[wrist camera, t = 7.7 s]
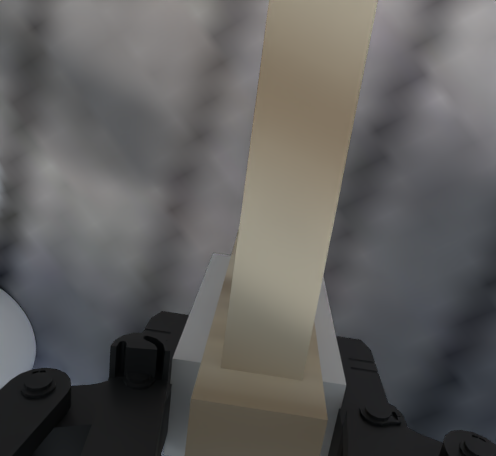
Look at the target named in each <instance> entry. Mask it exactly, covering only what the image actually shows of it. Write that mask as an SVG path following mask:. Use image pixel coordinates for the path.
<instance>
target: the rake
mask: <svg viewBox="0 0 496 456" xmlns="http://www.w3.org/2000/svg"><path fill="white" fill-rule="evenodd" d="M377 2H378V0H269V5H268V12H267V20H266V28H265V35H264V43H263V50H262V58H261V66H260V73H259V81H258V88H257V96H256V103H255V111H254V119H253V126H252V134H251V141H250V149H249V157H248V164H247V172H246V179H245V187H244V195H243V202H242V210H241V217H240V225H239V229H238V233H237V236H236V240H235V243H234V247H233V251H232V254H231V258H230V261H229V265H228V268H227V272H226V275H225V279H224V283H223V286H222V290H221V293H220V297H219V300H218V304H217V307H216V311H215V315H214V318H213V322H212V325H211V329H210V332H209V336H208V339H207V343H206V347H205V350H204V354H203V357H202V361H201V364H200V368H199V371H198V375H197V379H196V382H195V386H194V389H193V393H192V396H191V402H190V411H189V420H188V429H187V438H186V447H185V456H320V453H321V448H322V444H323V439H324V435H325V431H326V426H327V422H328V417H327V410H326V402H325V395H324V388H323V381H322V374H321V366H320V359H319V352H318V345H317V337H316V330H315V323H314V320H315V315H316V309H317V304H318V299H319V294H320V289H321V284H322V279H323V274H324V269H325V264H326V259H327V254H328V249H329V244H330V239H331V234H332V229H333V224H334V219H335V214H336V209H337V204H338V199H339V194H340V189H341V184H342V179H343V174H344V169H345V164H346V158H347V153H348V148H349V143H350V138H351V133H352V128H353V123H354V118H355V113H356V108H357V103H358V98H359V93H360V88H361V83H362V78H363V73H364V68H365V63H366V58H367V53H368V48H369V43H370V38H371V33H372V28H373V23H374V18H375V13H376V7H377Z"/></svg>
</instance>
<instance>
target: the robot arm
mask: <svg viewBox="0 0 496 456" xmlns="http://www.w3.org/2000/svg"><path fill="white" fill-rule="evenodd" d="M230 258H231V255H225V254H218V253H213V255H212V257H211V260H210V262H209V265H208V268H207V270H206V273H205V275H204V278H203V281H202V283H201V286H200V288H199V291H198V294H197V296H196V299H195V301H194V304H193V307H192V309H191V312H190V314H189V315H185V314H178V313H171V312H165V311H161V312H160V313H158V314H157V315H155V316H154V317H152V318H151V319H150V321H149V323H148V324H147V326H146V328H145V330H144V332H143V333H131V334H127V335H123V336H121V337H120V338H118V339H116V340H115V341H114V342H113V344H112V345H111V348H110V371H109V379H108V381H105V382H102V383H98V384H92V385H80V386H71V380H70V378H69V377H68V375H67V374H66V373H64V372H62V371H60V370H57V369H51V368H40V369H32V370H29V371H26V372H23V373H20V374H19V375H17V376H16V377H14V378H13V379H11V380H10V381H9V382H8V383H7V384H6V385H4V386H3V387H2V388H1V389H0V456H161V452H162V449H163V446H164V455H168V456H185V447H186V438H187V429H188V420H189V411H190V402H191V396H192V393H193V389H194V386H195V382H196V379H197V375H198V371H199V368H200V364H201V361H202V357H203V354H204V350H205V347H206V343H207V339H208V336H209V332H210V329H211V325H212V322H213V318H214V315H215V311H216V307H217V304H218V300H219V297H220V293H221V290H222V286H223V283H224V279H225V275H226V272H227V268H228V265H229V261H230ZM314 323H315V330H316V337H317V345H318V352H319V359H320V366H321V374H322V381H323V388H324V395H325V402H326V410H327V417H328V422H327V426H326V431H325V435H324V439H323V444H322V448H321V453H320V456H496V445H495V444H494V443H492V442H491V441H489V440H488V439H487V438H485V437H482V436H480V435H478V434H475V433H473V432H468V431H463V430H457V431H451V432H449V433H448V434H446V435H445V438H444V441H443V443H442V442H439V441H436V440H434V439H431V438H429V437H426V436H423V435H421V434H419V433H417V432H414V431H412V430H411V429H409V428H408V427H407V424H406V421H405V419H404V417H403V415H402V414H401V413H400V412H399V411H398V410H397V409H396V408H395V407H394V406H392V405H391V404H389V403H388V401H387V398H386V395H385V392H384V389H383V386H382V383H381V380H380V377H379V374H378V373H377V372H378V371H377V368H376V365H375V364H374V359H373V356H372V353H371V350H370V349H369V348H368V347H367V346H366V345H365V344H364V343H363V342H362V341H361V340H359V339H352V338H345V337H339V336H336V334H335V329H334V324H333V320H332V315H331V310H330V306H329V301H328V296H327V292H326V287H325V282H324V277H323V279H322V284H321V289H320V294H319V299H318V304H317V309H316V315H315V320H314ZM164 443H165V445H164Z"/></svg>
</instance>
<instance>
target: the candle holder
mask: <svg viewBox="0 0 496 456" xmlns="http://www.w3.org/2000/svg"><path fill="white" fill-rule="evenodd" d="M35 357H36V341H35V335H34V332H33V329H32V326H31V324H30V321H29V319H28V318H27V316H26V314H25V313H24V311H23V310H22V308H21V307H20V306H19V305H18V303H17V302H16V301H15V300H14V299H13V298H12V297H11V296H10V295H8V294H7V293H6V292H5V291H3V290H2V289H1V288H0V389H1V388H2V387H3V386H4V385H6V384H7V383H8V382H9V381H10V380H11V379H13V378H14V377H16V376H17V375H19V374H20V373H23V372H26V371H29V370H32V368H33V365H34V362H35Z"/></svg>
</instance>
